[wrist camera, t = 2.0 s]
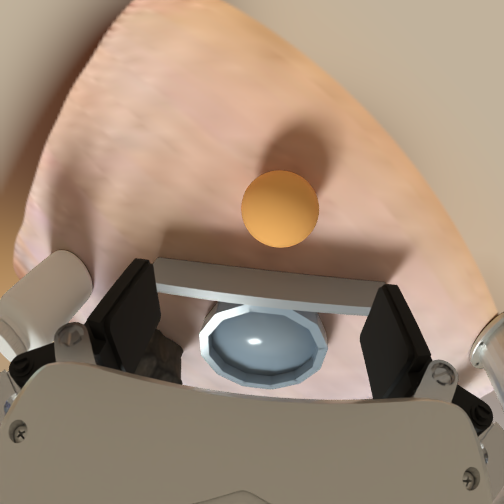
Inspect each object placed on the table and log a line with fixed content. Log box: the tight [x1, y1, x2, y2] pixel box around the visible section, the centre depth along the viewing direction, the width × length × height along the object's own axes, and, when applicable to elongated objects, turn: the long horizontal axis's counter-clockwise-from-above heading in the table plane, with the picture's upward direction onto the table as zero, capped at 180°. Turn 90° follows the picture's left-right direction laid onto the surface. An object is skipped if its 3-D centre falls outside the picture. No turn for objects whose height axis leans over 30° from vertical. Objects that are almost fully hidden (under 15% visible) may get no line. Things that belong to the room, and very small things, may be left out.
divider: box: [153, 257, 386, 316], centre depth 26 cm, size 24×1×4 cm, turn 86°
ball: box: [241, 170, 319, 248], centre depth 22 cm, size 6×6×6 cm
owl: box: [134, 329, 183, 385], centre depth 28 cm, size 13×13×20 cm
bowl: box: [199, 301, 328, 389], centre depth 31 cm, size 14×14×2 cm
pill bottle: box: [0, 250, 92, 362], centre depth 25 cm, size 8×8×15 cm
